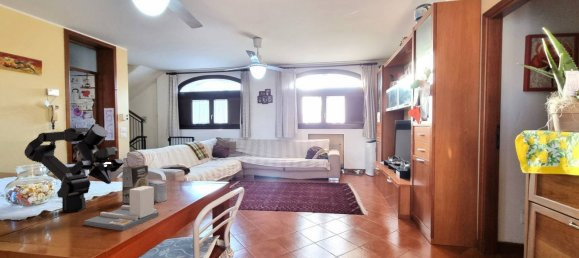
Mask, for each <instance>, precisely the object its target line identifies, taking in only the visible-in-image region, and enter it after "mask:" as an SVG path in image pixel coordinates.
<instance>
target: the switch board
mask: <svg viewBox="0 0 579 258" xmlns="http://www.w3.org/2000/svg"><path fill="white" fill-rule="evenodd" d="M99 213H100V214H99V215H97V216H93V217H91V218H88V219H85V220H84V226H91V227H97V228H102V229H109V230H115V231H116V230H117V231H120V230H121V231H122V232H124V231H126V230H129V229H131V228H133V227H136V226H138V225H141V224H142V223H145V222H149V220H153V219H155V218H156V217H159V216H160V215H159V213H160V212H159V211H158V209H157V208H154V213H152V214H150V215H147V216H145V217H142V218H138V217H137V216H130V205H126V204H123V205H121V208H118V209H115V210H113V211H108V212H105V211H101V212H99Z"/></svg>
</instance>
